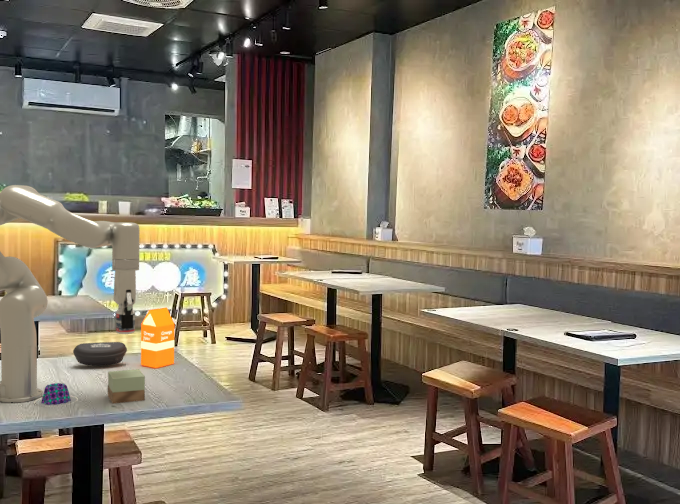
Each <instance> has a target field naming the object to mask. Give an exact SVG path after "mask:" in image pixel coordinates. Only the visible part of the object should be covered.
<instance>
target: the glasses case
mask: <svg viewBox="0 0 680 504" xmlns="http://www.w3.org/2000/svg"><path fill="white" fill-rule="evenodd" d="M72 352H73V353H72V354H73V355H74V357H75V360H76V361H77V362H78V364H80V365H84V366H94V367H95V366H97V367H101V366H112V365H117V364H120V363H121V362H122V361H123V359H124V357H125V356H126V354H127V352H128V348H127V345H126V344H125V343H123V342H119V341H106V342H104V341H102V342H87V343H85V342H84V343H78V344H77V345H76V346H75V347H74V349H73V350H72Z"/></svg>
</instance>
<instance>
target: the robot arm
mask: <svg viewBox="0 0 680 504" xmlns="http://www.w3.org/2000/svg"><path fill="white" fill-rule="evenodd" d="M19 219H21V220H23V221H27V222H30V223H32V224H35V225H37V226H39V227H42V228H44V229H47V230H48V231H50V232H51V233H53V234H55V235H56V236H59V237H60V238H63V239H64V240H66V241H70V242H72V243H74V244H76V245H79V246H83V247H85V248H88V249H97V248H102V247H107V246H111V247H112V249H111V251H112V252H111V253H112V254H111V255H112V257H111V259H112V260H111V261H112V262H111V265H112V266H111V269H112V271H114V281H113V282H114V283H113V302H115V303H116V304H117V305H118V309H117V310H119V305H120V304H121V303H122V313H123V315H121V328H122V329H131V328H133V310H134V308H133V307H134V305H135V304H136V300H137V299H136V298H137V297H136V295H137V285H136V284H137V280H136V279H137V278H136V271H139V270H140V225H139V224H138V223H135V222H131V221H129V222H128V221H127V222H126V221H125V222H124V221H123V222H122V221H119V222H118V221H117V222H116V221H108V220H107V221H106V220H96V221H95V220H94V221H93V220H90V219H87V218H86V217H85V218H84V217H82V216H80V215H77V214H76V213H72V212H71V211H69V210H68V209H66V208H65V207H64V205H63V203H62V202H60V201H58V200H55V199H54V198H52V197H51V198H50V197H48V196H45V195H43V194H40V193H39V192H38V191H37V189H35V188H34V187H32V186H29V185H23V184H22V185H21V184H12V185H7V186H6V187H4V188H3V189H2V190H1V191H0V226H2V225H5V224H7V223H10V222H13V221H16V220H19ZM2 291H3V292H4V291H6V294H5V295H4V296H2V298H1V299H0V347H1V348H0V358H1V359H0V363H1V364H0V365H1V366H0V367H1V373H0V374H1V380H0V402H1V403H11V402H13V403H14V404H15V403H23V402H25V403H26V402H30V401H35V400H36V399H38V398H41V397H43V393H44V390H42V389H40V388H38V345H37V340H38V339H37V329H36V328H37V327H36V324H35V318H37V317H39V316H41V315H42V314H43V313H45V311H46V310H47V308H48V302H49V300H48V296H47V294H46V292H45V290H44V288H43V287H42V286H41V284H40V283H39V281H38V280H37V279H36V277H35V275H34V274H33V272H32V271H31V269H30V267H28V265H27V264H26V263H25V262H24V261H23V260H22V259H20V258H18V257H15V256H4V254H3V253H2V252H1V251H0V292H2ZM124 303H127V304H124ZM13 403H11V404H13Z"/></svg>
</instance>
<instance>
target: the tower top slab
mask: <svg viewBox="0 0 680 504" xmlns="http://www.w3.org/2000/svg"><path fill="white" fill-rule="evenodd" d="M107 373H108V374H107V380H108V381H107V386H108V385H109V387H110V389H111V391H112V392H113V393H115V392H126V391H137V390H145V389H146V388H145V387H146V386H145V385H146V384H145V383H146V382H145V381H146V377H145V375H144V373H143V372H142V371H141V370H140V368H139V369H127V370H111V371H108V372H107ZM145 391H146V390H145Z"/></svg>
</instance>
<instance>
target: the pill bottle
mask: <svg viewBox="0 0 680 504" xmlns="http://www.w3.org/2000/svg"><path fill="white" fill-rule="evenodd" d="M124 304H127V303H124ZM118 306H119V310H118V309H117V310H116V313H115V333H116V334H117V335H118V334H119V335H130V334H134V333H135V331H136V312H135V310H134V309H133V328H131V329H122V328H121V315H123V313H122V303H121V304H120V305H118Z"/></svg>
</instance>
